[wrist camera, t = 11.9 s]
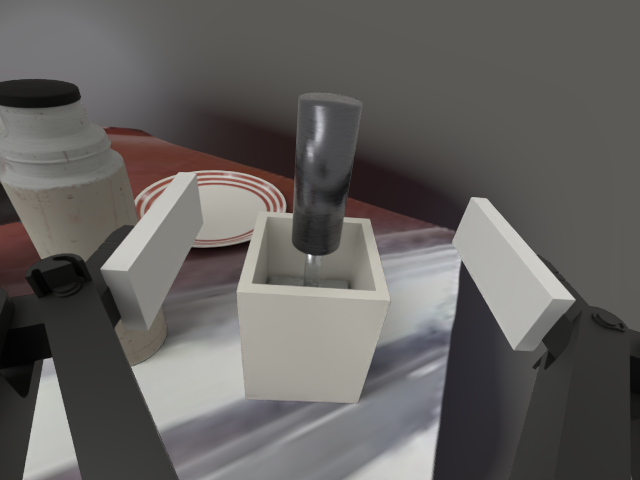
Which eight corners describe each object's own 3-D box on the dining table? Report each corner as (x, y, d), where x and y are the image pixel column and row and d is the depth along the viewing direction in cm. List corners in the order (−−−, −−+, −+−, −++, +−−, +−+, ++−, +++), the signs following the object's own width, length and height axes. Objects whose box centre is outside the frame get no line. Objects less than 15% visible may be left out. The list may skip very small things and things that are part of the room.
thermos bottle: (153, 302, 43) (88, 70, 26) (178, 343, 38) (118, 96, 22) (83, 331, 38) (-51, 71, 21) (102, 382, 34) (-49, 104, 17)
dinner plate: (305, 200, 70) (306, 186, 68) (243, 278, 48) (242, 261, 47) (196, 173, 75) (195, 160, 74) (98, 233, 54) (91, 217, 52)
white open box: (245, 399, 34) (236, 291, 24) (261, 311, 43) (259, 210, 34) (357, 403, 34) (390, 300, 25) (348, 316, 44) (369, 219, 35)
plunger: (259, 348, 31) (252, 111, 18) (270, 282, 38) (271, 81, 25) (353, 352, 31) (412, 126, 18) (346, 286, 39) (384, 92, 26)
